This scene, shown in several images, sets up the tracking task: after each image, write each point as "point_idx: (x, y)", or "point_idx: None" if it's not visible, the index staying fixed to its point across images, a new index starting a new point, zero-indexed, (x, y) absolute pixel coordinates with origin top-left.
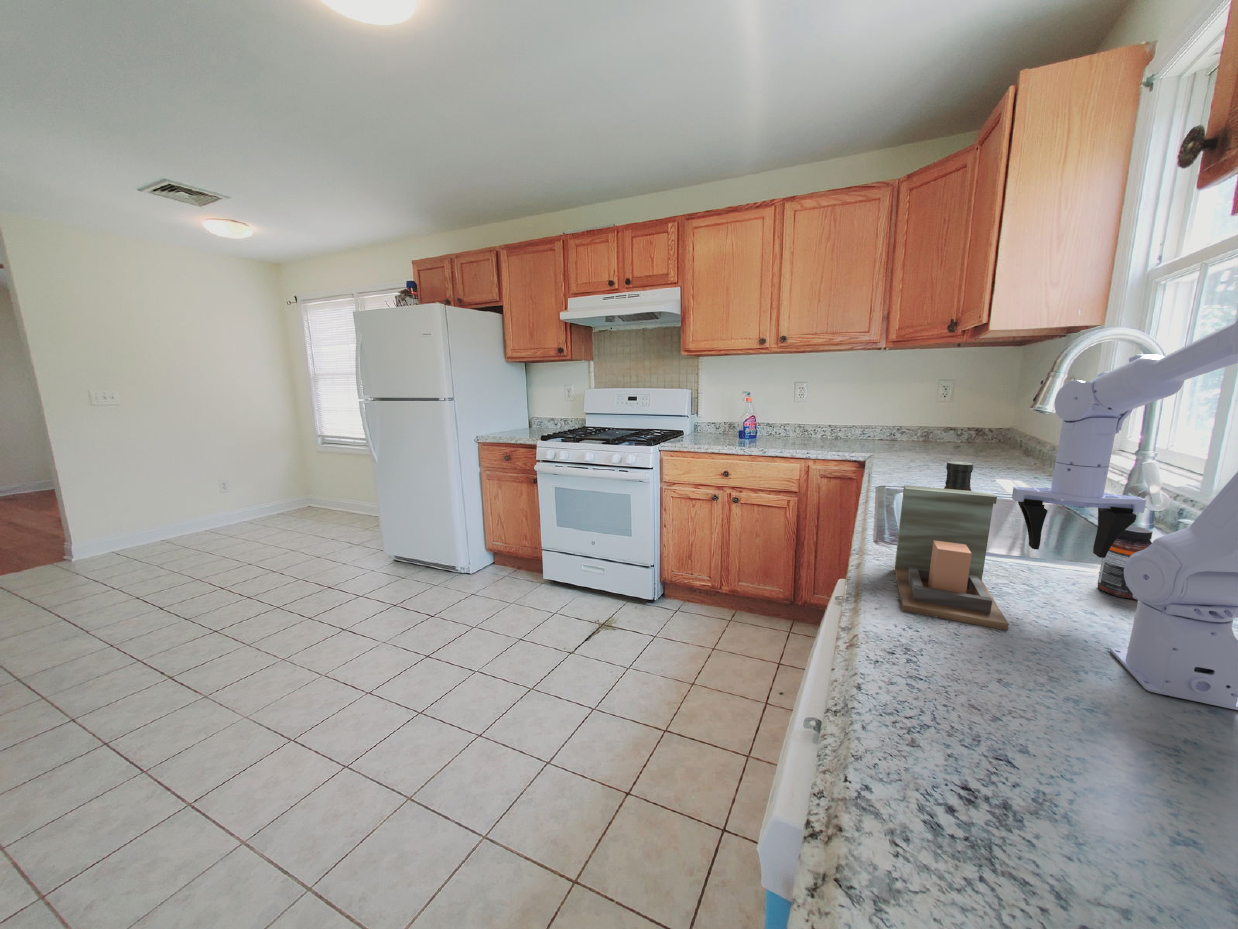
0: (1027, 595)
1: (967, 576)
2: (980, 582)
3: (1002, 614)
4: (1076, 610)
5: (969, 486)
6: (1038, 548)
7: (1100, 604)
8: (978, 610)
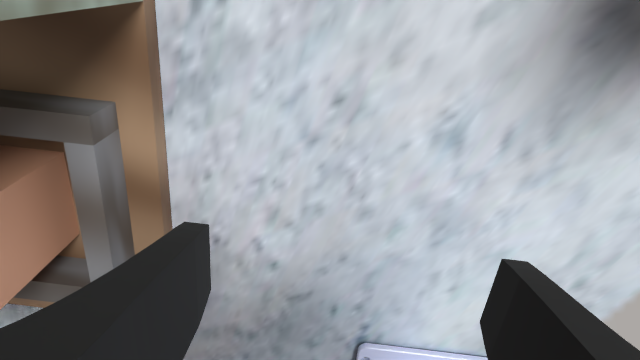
0: (303, 43)
1: (17, 291)
2: (96, 178)
3: None
4: (416, 129)
5: None
6: (206, 298)
7: (545, 37)
8: None
